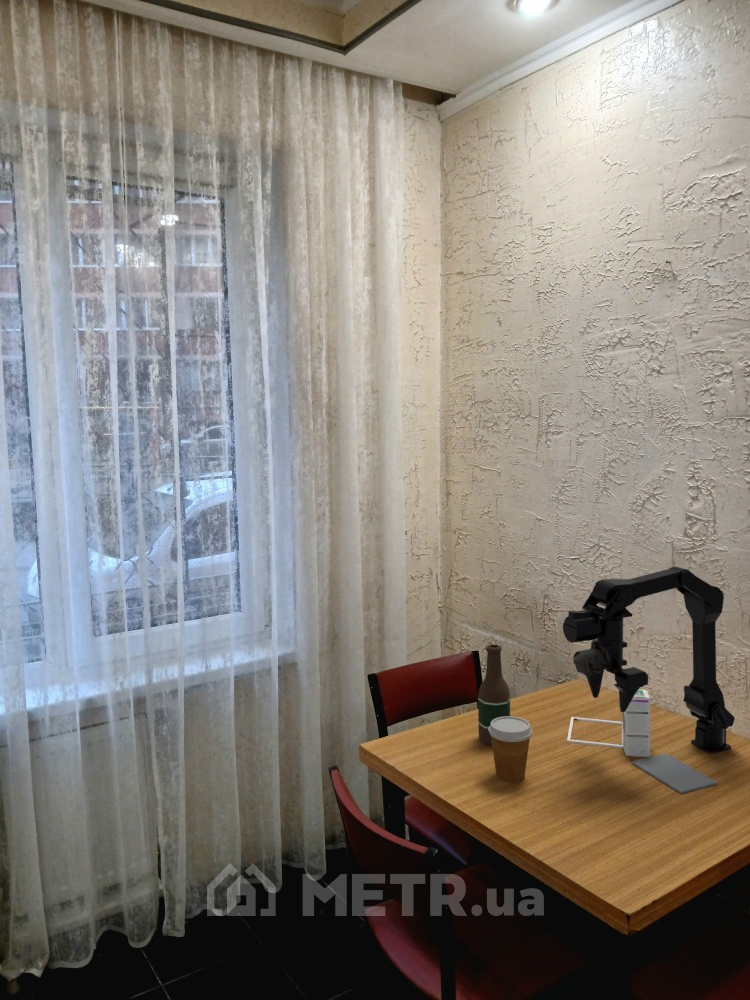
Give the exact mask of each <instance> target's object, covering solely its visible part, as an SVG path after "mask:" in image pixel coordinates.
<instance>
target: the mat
mask: <svg viewBox="0 0 750 1000" xmlns="http://www.w3.org/2000/svg"><path fill="white" fill-rule="evenodd" d="M631 764H632V765H633V766H635V767H637V768H638V769H640V770H641V771H643V772H644V773H646V774H648V775H649V776H651V777H652V778H654V779H656V780H658V782H661V783H662V784H664V785H665V786H667V787H669V788H670V789H672V790H674V791H675V792H677V793H678V794H680V795H682V794H687V793H691V792H694V791H698V790H702V789H704V788H709V787H712V786H716V785H718V781H716V780H715V779H713V778H711V777H709V776H707V775H706V774H704V773H702V772H700V771H698V770H696V769H695V768H693V767H692V766H690V765H688V764H686V763H684V762H683V761H681V760H679V759H677V758H676V757H674V756H673V755H670V754H668V753H667V752H665V753H662V754H657V755H654V756H650V757H644V758H641V759H637V760H633V761H631Z"/></svg>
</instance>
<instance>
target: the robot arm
mask: <svg viewBox="0 0 750 1000" xmlns="http://www.w3.org/2000/svg"><path fill="white" fill-rule="evenodd" d="M674 589H676V590H677V591H678V592H679V593H681V595H683V599H684V600H683V601H684V605H685V609H686V611H687V613H688V615H689V617H690V619H691V622H692V623H691V624H692V626H691V627H692V670H693V671H692V676H693V677H692V680H691V682H690V683H689V684H688V685H684V686H683V692H684V694H683V695H684V696H683V697H684V698H683V700H682V701H683V702H684V703H685V707H686V708H687V709H688V710H689V713H690V716H691V717H694V718H696V719H697V720H696V721H695V722H696V724H695V725H696V726H695V728H694V730H695V732H694V733H695V734H694V739H691V740H690V743H691V744H693V745H695V746H696V747H699V748H700V749H702V750H704V751H707V752H708V753H710V754H713V753H717V752H722V751H725V750H731V749H732V745H731V744H728V743H727V730H728V729H729V728H731V727H733V725H734V721H735V716H734V715H733V714H732V713H731V712H730V711H729V709H727V708H726V703H725V699H724V694H723V691H722V689H721V687H720V685H719V683H718V682H717V647H716V645H717V644H716V643H717V641H716V640H717V639H716V634H717V633H716V622H717V620H718V619H719V618H720V616H721V614H722V613H723V609H724V608H723V607H724V601H725V600H724V598H725V597H724V591H723V590H721V589H720V588H719V587H718V586H715V585H712V584H710V583H709V582H707V581H705V580H703V579H702V578H700V577H698V576H696V575H695V574H694V573H692V571H690V570H689V569H687V568H683V567H679V566H671V567H669V568H667V569H663V570H660V571H655V572H650V573H648V574H645V575H640V576H636V577H633V578H628V579H627V578H625V579H623V578H603V579H599V580H597V581H596V582H595V584H594V586H593V589H592V591H591V593H590V594H589V596H588V597H587V599H586V600H585V602H584V604H583V605H582V606H581V610H569V611H568V612H567V613H568V616H566V617H565V618H564V622H563V623H562V631H563V635H564V637H565V639H566V641H567V642H568V643H571V644H574V643H579V642H580V643H581V642H588V641H591V643H590V648H589V649H588V648H587V649H583V650H582V649H581V650H577V651H575V653H574V655H573V657H572V660H573V662H572V663H573V664H574V667H575V670H576V672H577V673H580V674H583V675H584V676H585V678H586V679H587V682H588V685H589V689H590V692H591V694H592V697H593V698H594V699H597V698H599V695H600V691H601V686H602V681H603V676H604V673H605V672H608V673H611V674H613V675H614V681H615V683H614V684H613V685H614V687H615V688H616V689H617V690H618V700H619V701H618V702H619V710H620V711H619V712H620V713H623V712H625V711H626V709H627V708H628V706H629V704H630V702H631V700H632V699H633V697H634V695H635V694H636V692H637V691H638V689H641V688H643V687H645V686H648V685H649V674H648V673H647V672H646V671H645V670H642V669H640V668H637V667H634V666H632V667H627V668H623V666H627V665H628V660H626V659H624V648H628V642H627V641H624V618H631V617H632V616H633V613H632V612H630V611H629V610H628V609H627V607H629V606H632V605H633V604H634V603H635V602H636V600H638V599H641V598H643V597H648V596H651V595H655V594H659V593H663V592H667V591H669V590H670V591H671V590H674ZM599 605H600V606H599ZM601 606H604V607H601Z"/></svg>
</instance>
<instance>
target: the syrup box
mask: <svg viewBox="0 0 750 1000" xmlns="http://www.w3.org/2000/svg"><path fill="white" fill-rule="evenodd" d="M622 722H623V748H624V749H623V748H622V749H623V752H624V755H625V756H627V757H635V758H636V757H637V758H649V757H651V697H650V695H649V691H648V690H647V689H646V688H645V689H644V688H639V689H638V691H637V692H636V694H635V695H634V697H633V699H632V700H631V702H630V704H629V706H628V708H627V709H626V711H625V712H622Z"/></svg>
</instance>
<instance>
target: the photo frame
mask: <svg viewBox="0 0 750 1000" xmlns="http://www.w3.org/2000/svg"><path fill="white" fill-rule="evenodd" d="M570 717H571V718H570V721H569V722H570V723H569V727H568V734H567V739H566V743H571V744H579V745H580V744H581V745H590V746H598V747H607V748H616V749H623V750H624V748H623V721H618V720H617V721H615V720H608V719H607V720H606V719H596V718H586V717H579V716H578V717H575V716H570ZM574 720H577V721H582V722H590V723H600V724H601V723H602V724H611V725H612V724H613V725H619V726H621V744H617V743H615V744H614V743H607V742H597V741H588V740H587V741H586V740H579V739H578V740H577V739H571V737H572V732H573V731H572V730H573V725H574Z"/></svg>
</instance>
